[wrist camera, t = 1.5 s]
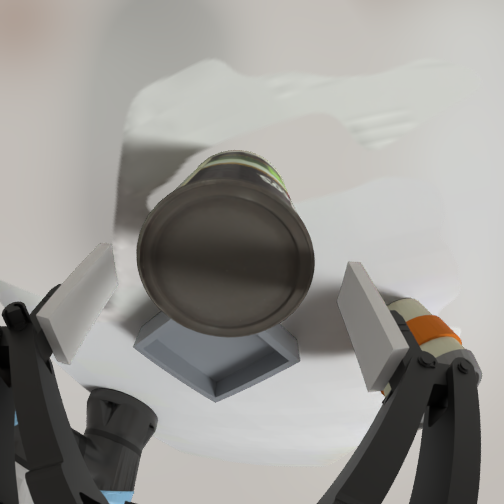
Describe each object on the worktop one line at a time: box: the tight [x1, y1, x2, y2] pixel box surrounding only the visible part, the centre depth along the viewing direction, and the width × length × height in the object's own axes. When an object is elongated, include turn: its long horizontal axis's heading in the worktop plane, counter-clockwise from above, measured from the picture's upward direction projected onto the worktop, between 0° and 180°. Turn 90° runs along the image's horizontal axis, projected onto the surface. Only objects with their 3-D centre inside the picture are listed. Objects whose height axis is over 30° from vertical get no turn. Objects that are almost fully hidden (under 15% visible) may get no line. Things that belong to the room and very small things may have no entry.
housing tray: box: [133, 311, 300, 403], centre depth 35 cm, size 15×15×4 cm
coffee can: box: [137, 150, 315, 338], centre depth 22 cm, size 10×10×14 cm
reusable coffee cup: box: [381, 298, 482, 430], centre depth 30 cm, size 13×13×15 cm
